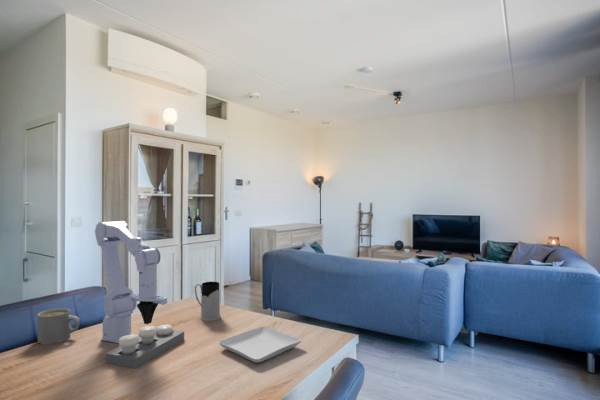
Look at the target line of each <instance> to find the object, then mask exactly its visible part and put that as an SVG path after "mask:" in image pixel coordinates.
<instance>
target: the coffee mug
mask: <svg viewBox="0 0 600 400" xmlns="http://www.w3.org/2000/svg"><path fill="white" fill-rule="evenodd" d="M72 320H73V321H74V323H75V325H74V327H72V325H71V322H72ZM80 324H81V321H80V318H79V317H78V315H77V316H76V315H71V309H69V308H65V307H62V308H61V307H59V308H58V307H57V308H52V309H47V310H43V311H40V312H38V314H37V343H38V344H39V343H41V344H40V345H43V344H46V345H54V343H55V344H59V343H62V342H64V341H67V340H69V339H70V338H71V334H72V333H75V332H76V331H78V329H79V328H80ZM68 338H69V339H68Z"/></svg>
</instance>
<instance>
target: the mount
mask: <svg viewBox="0 0 600 400" xmlns="http://www.w3.org/2000/svg"><path fill="white" fill-rule="evenodd" d="M184 340H185V331H184V330H183V331H182V330H178V329H177V330H175V329H173V332H172V333H171V334H169V335H167V336H159V335H157V334H156V335H155V336H154V343H152V344H150V345H143V344H141V337H139V336H138V344H137V345H136V352H135V353H133V354H132V355H130V356H127V355H122V347H120V346H119V345H118V346H117V347H115V348H113V349H112V350H110V351H108V352H105V353H104V354H105V360H104V361H105V363H106V364H110V365H116V366H121V367H124V368H125V367H126V368H131V369H137V368H139V367H141V366H142V365H144V364H146V363H147V362H149V361H151V360H153V359H155V358H156V357H158V356H159V355H161V354H163V353H164V352H166V351H168V350H169V349H171V348H173V347H174V346H176V345H177V344H179V343H181V342H182V341H183V342H184Z"/></svg>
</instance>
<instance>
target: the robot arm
mask: <svg viewBox="0 0 600 400" xmlns="http://www.w3.org/2000/svg"><path fill="white" fill-rule="evenodd" d="M128 225H129V224H128V222H127V223H126V221H125V220H118V221H115V220H114V221H99V222H97V224H96V225H95V229H94V234H95V239H96V243H97V246H99V247H100V248H101V252H102V258H103V262H104V263H103V264H104V267H105V271H106V277H107V281H108V286H109V291H108V292H107V293H106V294H105V296H104V297H103V310H104V314H105V316H104V317H103V320H102V338H100V340H101V341H105V342H110V343H116V344H119V339H120V338H121V337H123V336H126V335H137V334H136V333H132V314H133V313H134V311H135V310H136V307H137V309H138V310H139V312H140V315H141V317H142V319H143V320H142V321H143V324H144V325H149V324H151V323H152V320H153V317H154V314H155V312H156V309H157V307H158V306H159V304H160V305H162V306H163V305H166V304H168V297H165V296H161V295H159V294H158V290H157V289H158V285H157V284H158V283H157V282H158V281H157V280H158V272H157V270H158V268H157V267H158V264H159V263H160V261H161V252H160V250H159V249H158V248H157V247H150V246H149V245H148V244H147V243H146V242H145V241H144V240H143V239H142V238H141V237H135V236H134V234H132V232H131V231H130V230H129V226H128ZM122 242H123V243H124V244H126V247H125V248H126V250H127V251H128V252H129V253H130V254H131V255H132V256H133V258H134V261H135V265H136V269H137V272H138V294H137V293H134V292H133V289H130V288H128V287H127V286H126V285H125V281H124V275H123V271H122V266H121V262H120V256H119V254H118V253H119V252H118V249H117V247H118V245H120V244H122ZM137 302H139V303H137Z"/></svg>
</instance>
